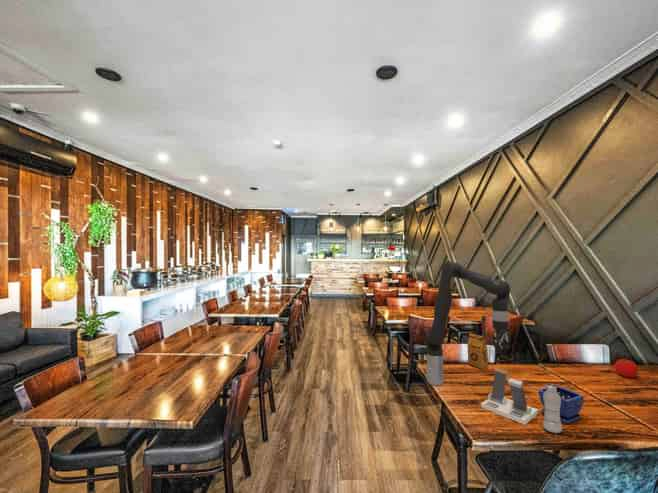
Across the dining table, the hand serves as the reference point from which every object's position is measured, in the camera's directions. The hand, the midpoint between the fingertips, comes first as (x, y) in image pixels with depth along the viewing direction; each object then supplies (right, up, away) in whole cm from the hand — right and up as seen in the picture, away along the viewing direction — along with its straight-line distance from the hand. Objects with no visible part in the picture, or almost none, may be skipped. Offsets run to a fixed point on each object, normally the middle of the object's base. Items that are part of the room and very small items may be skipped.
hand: (501, 351), depth 153 cm
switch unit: (+1, -28, -4) cm, 29 cm away
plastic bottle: (+10, -28, -22) cm, 37 cm away
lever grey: (+4, -25, -9) cm, 27 cm away
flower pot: (+22, -28, -11) cm, 38 cm away
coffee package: (+16, -31, +55) cm, 65 cm away
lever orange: (-2, -25, 0) cm, 25 cm away
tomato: (+101, -29, +36) cm, 111 cm away
